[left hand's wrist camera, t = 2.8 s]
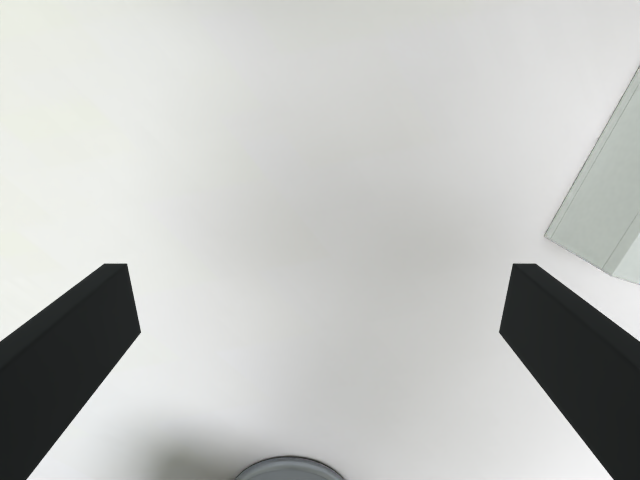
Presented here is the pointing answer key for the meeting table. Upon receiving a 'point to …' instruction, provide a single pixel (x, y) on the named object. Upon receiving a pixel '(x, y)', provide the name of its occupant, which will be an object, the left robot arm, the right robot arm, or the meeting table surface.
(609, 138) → the pale grey box
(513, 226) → the meeting table surface
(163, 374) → the meeting table surface
